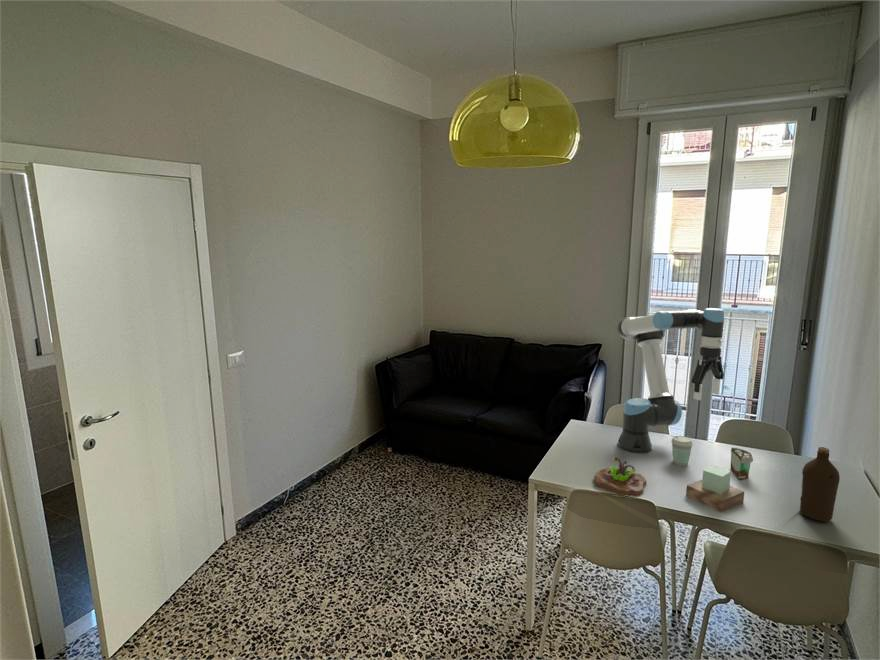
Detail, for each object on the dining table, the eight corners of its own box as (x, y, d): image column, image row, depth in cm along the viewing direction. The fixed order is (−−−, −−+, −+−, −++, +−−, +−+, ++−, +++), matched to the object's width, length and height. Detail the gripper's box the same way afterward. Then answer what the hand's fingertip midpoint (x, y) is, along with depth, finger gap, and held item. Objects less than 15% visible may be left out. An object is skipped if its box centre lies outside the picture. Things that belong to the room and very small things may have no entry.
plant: (601, 469, 220) (602, 445, 218) (648, 479, 210) (650, 454, 208) (588, 488, 203) (590, 462, 201) (640, 500, 193) (641, 473, 191)
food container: (756, 482, 205) (758, 459, 204) (739, 481, 207) (742, 458, 205) (744, 469, 217) (746, 447, 216) (729, 468, 219) (731, 446, 217)
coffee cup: (674, 458, 229) (676, 433, 227) (694, 464, 223) (696, 438, 221) (666, 464, 223) (668, 438, 221) (686, 470, 217) (688, 444, 215)
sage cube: (701, 487, 192) (703, 470, 191) (710, 482, 196) (711, 465, 195) (720, 494, 187) (722, 476, 186) (729, 488, 191) (730, 471, 190)
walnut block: (685, 497, 195) (686, 485, 194) (708, 488, 202) (709, 476, 201) (720, 513, 183) (721, 500, 182) (743, 503, 190) (744, 491, 189)
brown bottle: (840, 517, 179) (849, 450, 175) (824, 525, 174) (833, 457, 170) (807, 504, 188) (814, 440, 184) (791, 511, 183) (799, 446, 179)
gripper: (702, 351, 194) (698, 404, 198) (736, 344, 208) (731, 393, 211) (684, 348, 200) (680, 399, 204) (718, 341, 214) (713, 389, 218)
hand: (706, 396), depth 208 cm, fingers open, 13 cm apart
